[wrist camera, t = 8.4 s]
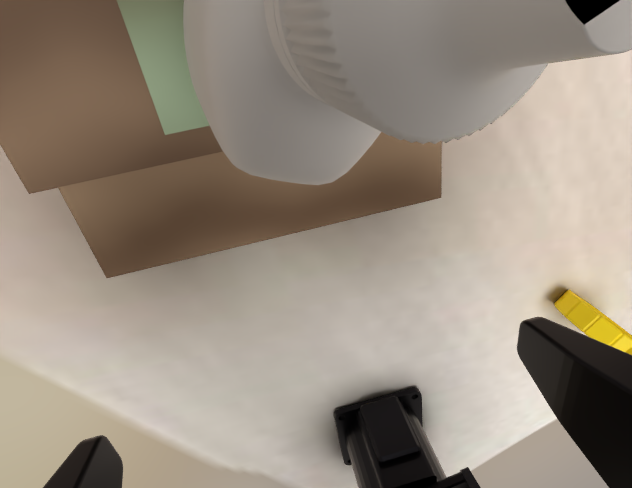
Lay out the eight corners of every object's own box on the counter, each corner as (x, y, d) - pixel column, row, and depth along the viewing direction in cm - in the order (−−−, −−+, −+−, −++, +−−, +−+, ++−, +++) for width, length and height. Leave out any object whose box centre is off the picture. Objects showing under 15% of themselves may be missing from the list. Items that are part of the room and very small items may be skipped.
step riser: (423, 183, 21) (464, 216, 17) (116, 255, 20) (93, 308, 16) (416, -189, 14) (482, -261, 10) (-71, -118, 12) (-191, -174, 9)
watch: (532, 301, 28) (597, 362, 22) (562, 271, 27) (637, 328, 22) (581, 333, 30) (651, 395, 25) (610, 306, 29) (689, 365, 24)
